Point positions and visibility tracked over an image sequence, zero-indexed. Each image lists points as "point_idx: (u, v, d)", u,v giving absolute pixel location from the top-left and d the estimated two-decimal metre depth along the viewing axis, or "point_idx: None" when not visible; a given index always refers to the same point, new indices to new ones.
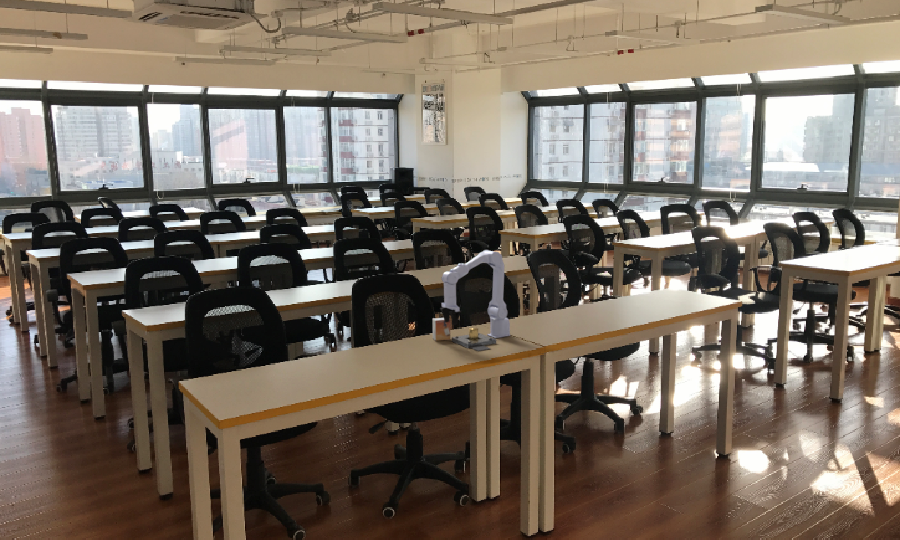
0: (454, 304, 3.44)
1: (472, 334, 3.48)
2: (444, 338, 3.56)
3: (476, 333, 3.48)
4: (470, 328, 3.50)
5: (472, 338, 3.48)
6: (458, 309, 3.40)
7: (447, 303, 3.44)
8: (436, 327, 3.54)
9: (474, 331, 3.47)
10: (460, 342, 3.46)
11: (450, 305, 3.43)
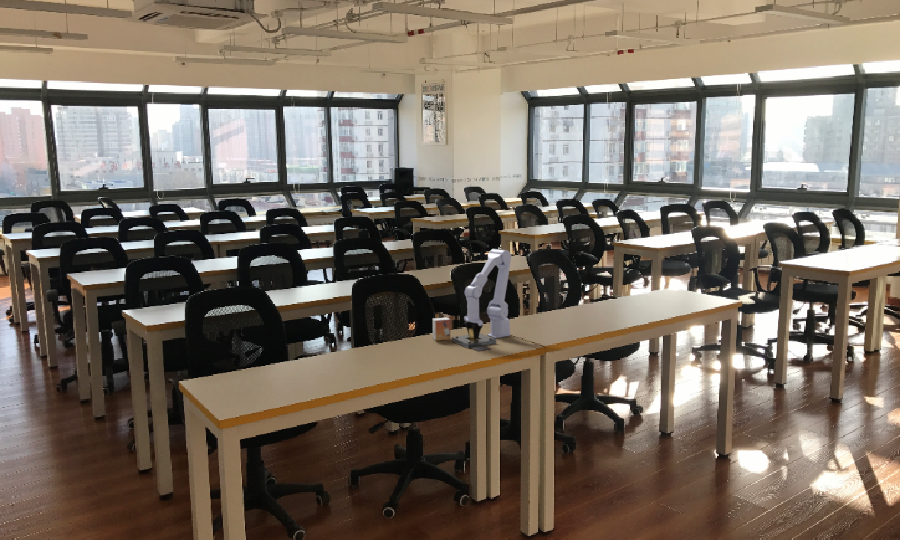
0: (477, 318, 3.47)
1: (472, 334, 3.48)
2: (444, 338, 3.56)
3: None
4: (470, 328, 3.50)
5: (472, 338, 3.48)
6: (481, 323, 3.43)
7: (470, 317, 3.46)
8: (436, 327, 3.54)
9: None
10: (460, 342, 3.46)
11: (473, 319, 3.46)
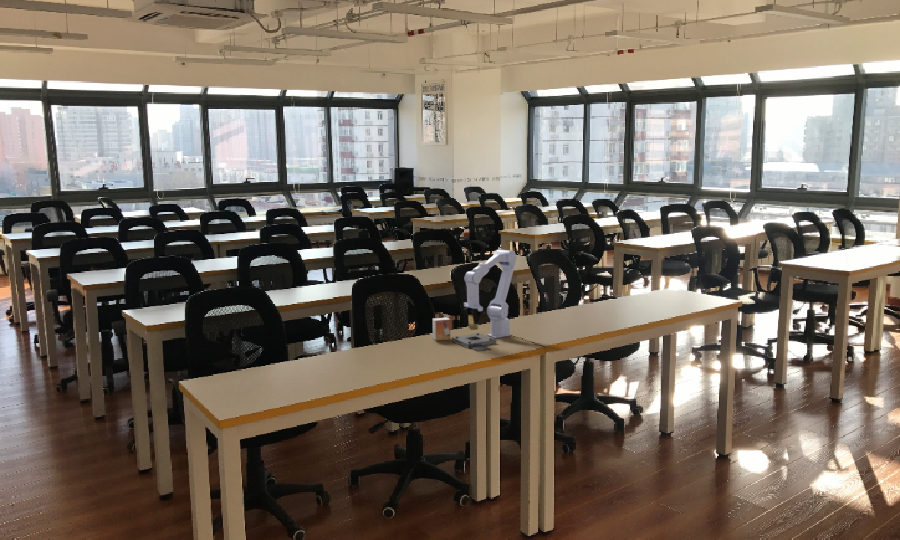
0: (477, 304, 3.46)
1: (472, 320, 3.47)
2: (444, 338, 3.56)
3: None
4: (470, 314, 3.49)
5: (472, 324, 3.47)
6: (481, 309, 3.42)
7: (470, 303, 3.45)
8: (436, 327, 3.54)
9: None
10: (460, 342, 3.46)
11: (473, 305, 3.45)
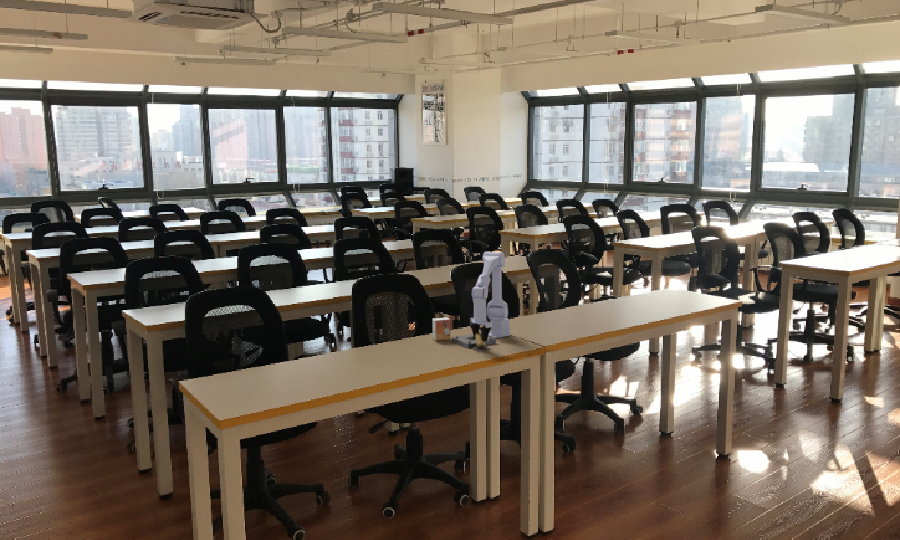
0: (484, 320, 3.34)
1: (479, 339, 3.35)
2: (444, 338, 3.56)
3: None
4: (477, 333, 3.38)
5: (479, 343, 3.36)
6: (489, 325, 3.30)
7: (477, 319, 3.34)
8: (436, 327, 3.54)
9: (481, 336, 3.35)
10: (460, 342, 3.46)
11: (480, 321, 3.34)
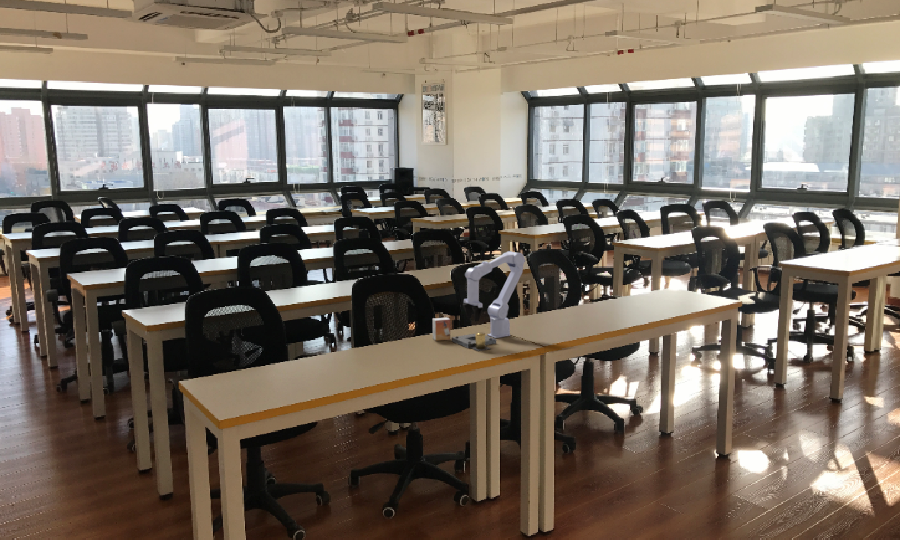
0: (477, 300, 3.51)
1: (479, 339, 3.35)
2: (444, 338, 3.56)
3: (483, 338, 3.36)
4: (477, 333, 3.38)
5: (479, 343, 3.36)
6: (481, 305, 3.47)
7: (470, 299, 3.50)
8: (436, 327, 3.54)
9: (481, 336, 3.35)
10: (460, 342, 3.46)
11: (473, 301, 3.50)
